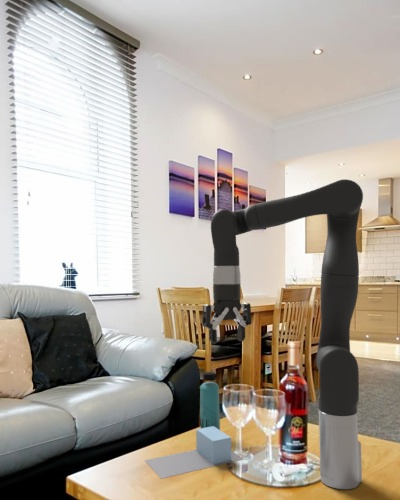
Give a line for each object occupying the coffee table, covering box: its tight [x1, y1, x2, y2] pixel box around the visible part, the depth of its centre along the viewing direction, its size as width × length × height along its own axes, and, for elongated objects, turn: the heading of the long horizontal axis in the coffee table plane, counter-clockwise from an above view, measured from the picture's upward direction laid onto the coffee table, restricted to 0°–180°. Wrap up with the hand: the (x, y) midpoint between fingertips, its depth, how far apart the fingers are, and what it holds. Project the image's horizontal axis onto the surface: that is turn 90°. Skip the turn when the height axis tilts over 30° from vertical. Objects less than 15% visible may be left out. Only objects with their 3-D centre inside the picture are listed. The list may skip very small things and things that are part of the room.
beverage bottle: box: [199, 371, 221, 431], centre depth 140 cm, size 6×7×20 cm
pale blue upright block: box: [195, 426, 232, 464], centre depth 121 cm, size 6×10×6 cm, turn 27°
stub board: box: [144, 449, 244, 480], centre depth 118 cm, size 24×12×4 cm, turn 117°
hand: (227, 342), depth 119 cm, fingers open, 8 cm apart
